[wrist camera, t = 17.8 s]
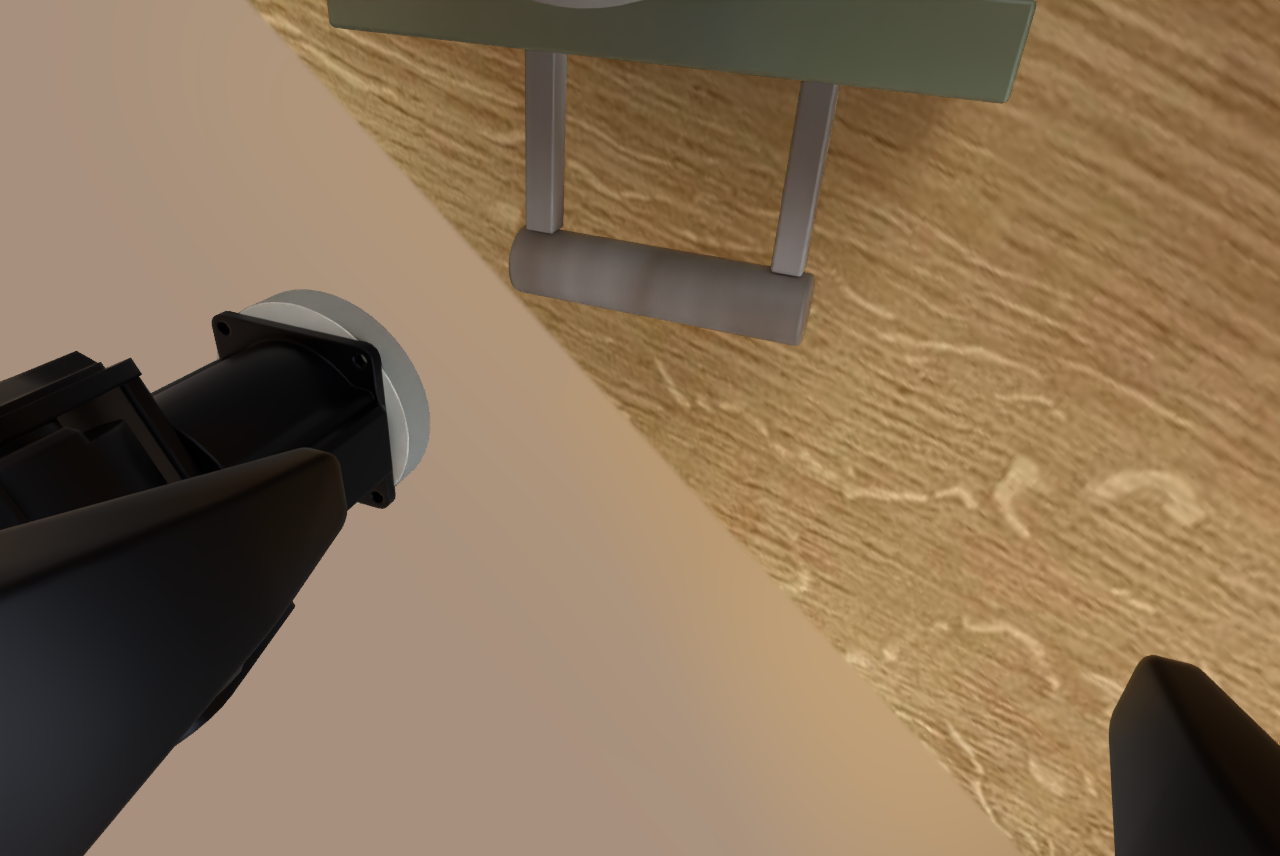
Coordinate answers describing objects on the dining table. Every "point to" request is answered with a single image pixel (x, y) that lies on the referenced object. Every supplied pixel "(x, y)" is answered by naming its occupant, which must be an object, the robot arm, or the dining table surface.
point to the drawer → (727, 42)
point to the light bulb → (587, 3)
